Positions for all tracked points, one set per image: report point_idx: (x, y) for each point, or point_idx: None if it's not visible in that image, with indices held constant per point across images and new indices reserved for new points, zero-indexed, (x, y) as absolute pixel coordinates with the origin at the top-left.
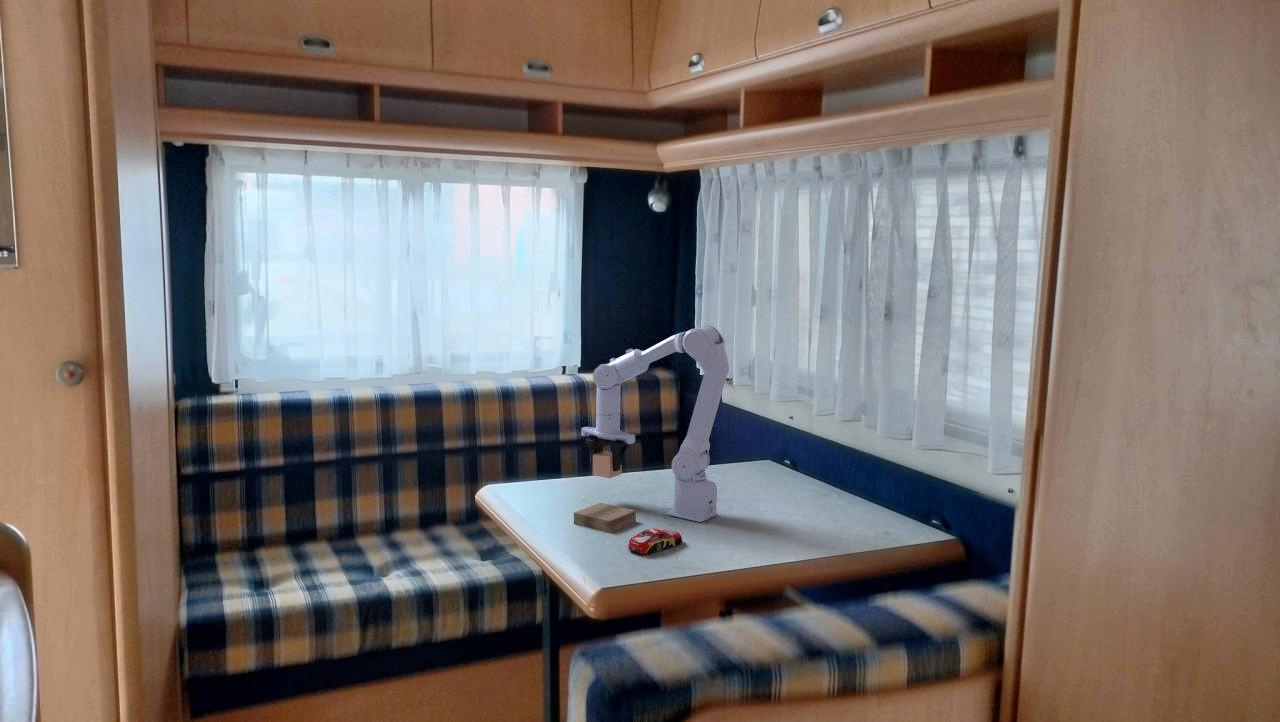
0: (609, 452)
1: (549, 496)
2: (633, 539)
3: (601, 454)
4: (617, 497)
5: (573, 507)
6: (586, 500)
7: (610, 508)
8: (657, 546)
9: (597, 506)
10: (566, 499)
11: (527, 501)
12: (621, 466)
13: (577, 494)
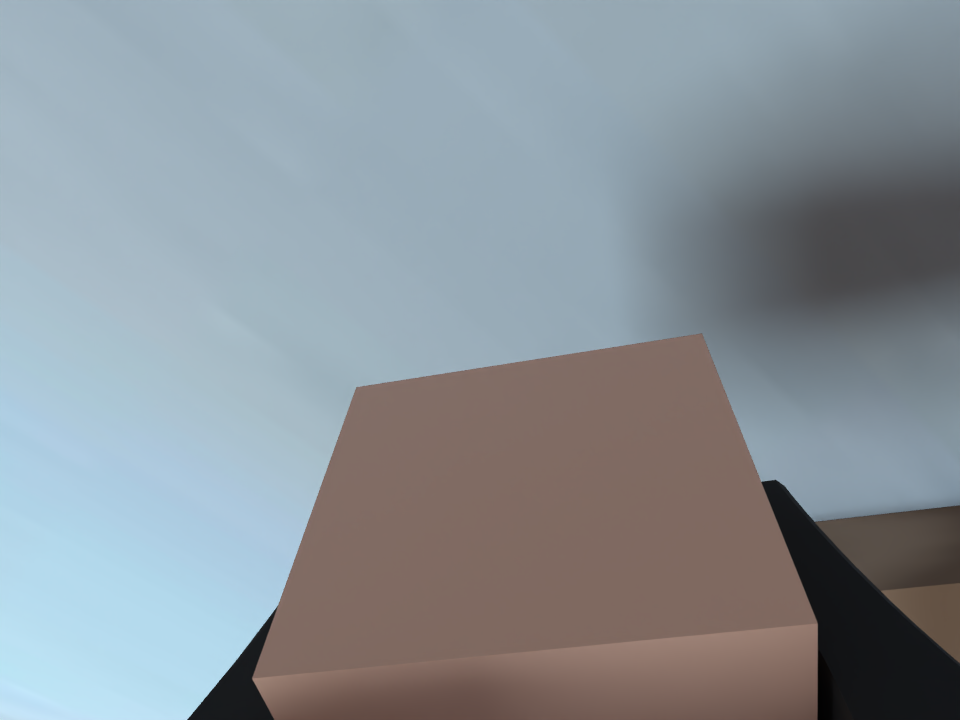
0: (455, 708)
1: (87, 515)
2: None
3: None
4: (474, 73)
5: None
6: (362, 385)
7: (944, 646)
8: None
9: None
10: (237, 478)
11: (140, 668)
12: (734, 419)
13: (139, 320)
